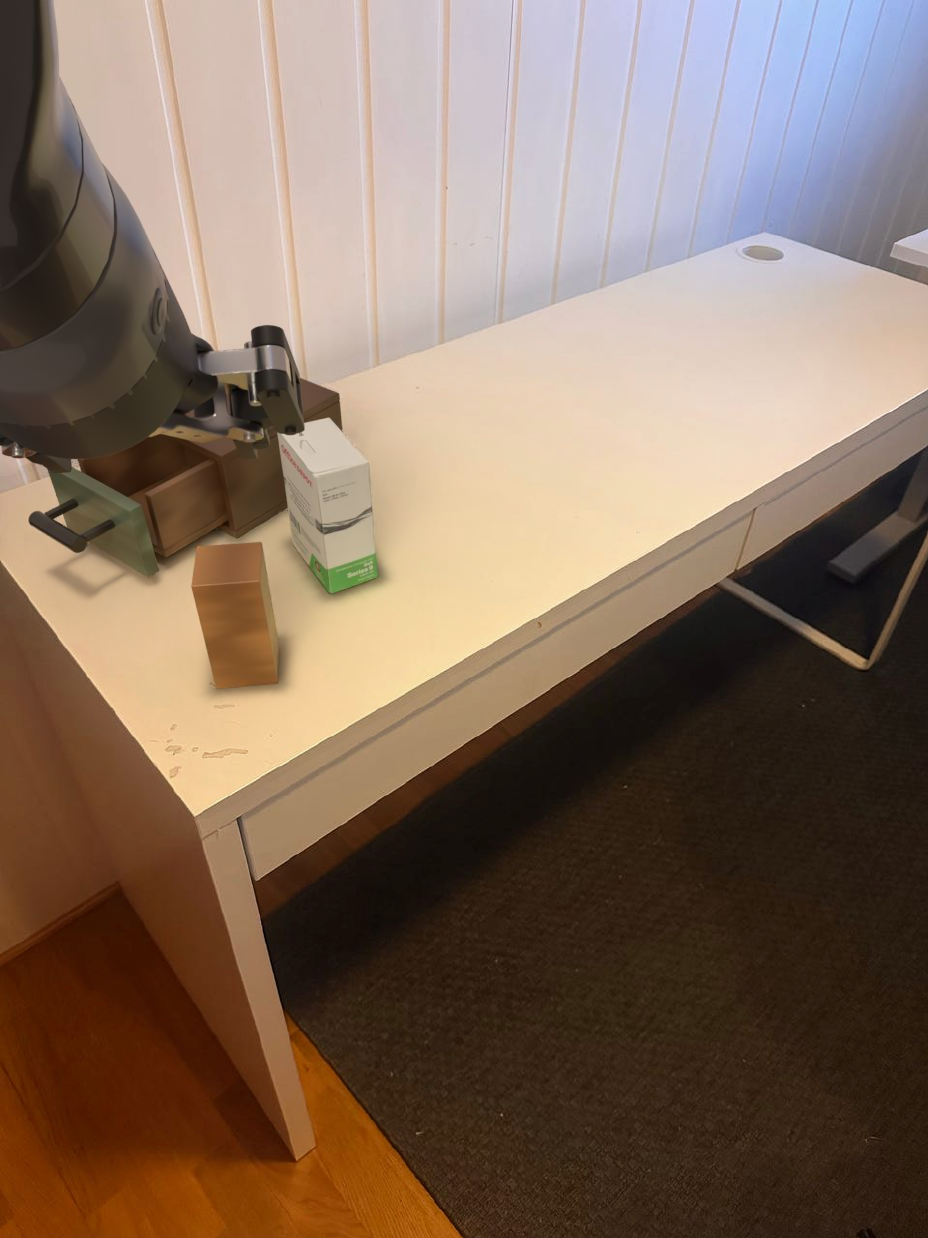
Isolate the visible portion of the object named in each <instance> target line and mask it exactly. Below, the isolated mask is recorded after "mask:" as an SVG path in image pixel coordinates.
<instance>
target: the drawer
mask: <svg viewBox="0 0 928 1238" xmlns="http://www.w3.org/2000/svg"><path fill="white" fill-rule="evenodd" d="M77 462H78V466H79V469H77V468H75V467H73V466H72V469H71V472H67V473H53V472H51V471H50V470H48V469H47V468H46V469H47V473H48V476H49V479H50V481H51V484H52V487H53V490H54V493H55V496H56V499H57V501H58V505H57V506H55V507H53V508H50V509H49V510H47V511H45V512H42V511H40V510H35V511H33V512H31V514H29V516H28V520H27V521H28V524H29V525H30V526H31V527H32V528H34V529H36V530H38V531H39V532H41V533H42V534H44V535H45V536H47V537H49V538H50V539H52V540H54V541H55V542H57V543H58V544H60V545H62V546H63V547H65V548H66V549H68V550H69V551H72V552H73V553H75V554H80V553H82V552H84V551H85V550H86V548H87V547H88V543H90V544H92V545H94V546H95V547H96V548H98V549H100V550H101V551H103V552H105V553H107V554H108V555H110V556H112V557H113V558H115V559H117V560H118V561H120V562H122V563H123V564H126V566H128V567H130V568H132V569H133V570H134V571H137V572H138V573H140V574H142V575H143V576H144V577H146V578H150V577H152V576H154V575H155V574H157V573H159V572H160V568H159V565H158V561H157V557H156V553H158V554H159V555H161V556H163V557H165V558H168V557H170V556H171V555H173V554H174V553H176V552H178V551H179V550H181V549H183V548H184V547H186V546H187V545H189V544H191V543H193V542H194V541H196V540H198V539H199V538H201V537H203V536H204V535H206V534H208V533H209V532H211V531H213V530H214V529H216V528H217V527H218V526H220V525H221V524H223V523H225V522H226V521H228V515H227V510H226V505H225V499H224V494H223V489H222V484H221V479H220V474H219V469H218V464H217V462H218V461H216V460H214V459H212V458H209V457H207V456H205V455H203V454H201V453H199V452H197V451H195V450H193V449H191V448H189V447H187V446H185V445H183V444H181V443H179V442H176V441H174V440H172V439H170V438H168V437H166V436H164V435H162V434H158V435H155V436H152V437H147V438H146V439H144V440H143V441H141V442H140V443H138V444H136V445H134V446H132V447H130V448H128V449H126V450H124V451H121V452H118V453H115V454H112V455H108V456H104V457H99V458H91V459H77ZM61 516H63V519H64V522H65V525H64V524H62V523H60V522H59V521H57V520H56V518H59V517H61ZM155 552H156V553H155Z"/></svg>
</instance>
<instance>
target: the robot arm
mask: <svg viewBox="0 0 928 1238" xmlns="http://www.w3.org/2000/svg"><path fill="white" fill-rule="evenodd" d="M54 1H55V0H0V446H1V454H2V455H3V456H5V457H11V458H12V459H18V460H19V459H24V458H25V459H27V460H28V461H29V462H31V463H32V464H36V465H40V466H43V467H44V468H46V469H48V470H50V471H51V472H53V473H67V472H71V469H72V467H73V465H72V463H73V462H72V460H78V459H91V458H99V457H104V456H108V455H112V454H115V453H118V452H121V451H124V450H126V449H128V448H130V447H132V446H134V445H136V444H138V443H140V442H141V441H143V440H144V439H146V438H147V437H152V436H155V435H158V434H164V435H168V436H173V437H177V438H182V439H186V440H190V441H195V442H199V443H205V442H209V441H212V440H215V439H218V438H222V437H227V438H231V439H233V442H234V444H235V446H236V448H237V450H238V452H239V454H240V456H241V458H242V460H244V459H257V457H258V455H257V449H267V448H268V447H269V446H270V440H269V429H268V428H269V427H272V426H274V428H275V430H276V432H278V433H280V434H285V435H295V434H297V433H301V432H303V431H304V430H305V427H304V416H303V405H302V395H301V385H300V378H301V375H300V372H299V369H298V365H297V364H296V361H295V358H294V355H293V353H292V349H291V347H290V344H289V341H288V339H287V336H286V333H285V331H284V329H283V328H282V327H280V326H277V325H274V324H263V325H258V326H255V327H253V328H252V329H251V330H250V338H251V341H246V342H245V343H244V344H243V348H234V349H220V350H215V349H214V348H213V346H212V345H211V344H210V343H209V342H208V341H207V340H205V339H204V338H202V337H199V336H197V335H195V333H192V331H191V329H190V326H189V323H188V321H187V318H186V316H185V314H184V312H183V309H182V307H181V305H180V303H179V300H178V299H177V296H176V294H175V292H174V289H173V288H172V286H171V283H170V282H169V279H168V277H167V275H166V272H165V271H164V268H163V266H162V264H161V263H160V260H159V258H158V256H157V254H156V252H155V249H154V247H153V245H152V242H151V241H150V239H149V237H148V233H147V232H146V229H145V228H144V226H143V224H142V222H141V220H140V218H139V216H138V214H137V212H136V211H135V208H134V206H133V205H132V203H131V201H130V199H129V198H128V196H127V194H126V193H125V191H124V190H123V189H122V187H121V186H120V184H119V183H118V181H117V179H115V177H114V176H113V175H112V173H111V172H110V170H109V169H108V168H107V166H106V165H105V164H104V163H103V162H102V160H101V159H100V157H99V154H98V152H97V150H96V148H95V146H94V144H93V143H92V139H91V138H90V136H89V134H88V132H87V130H86V127H85V125H84V123H83V122H82V119H81V118H80V116H79V113H78V111H77V109H76V107H75V105H74V103H73V102H72V99H71V97H70V95H69V93H68V90H67V88H66V87H65V84H64V82H63V80H62V78H61V76H60V52H59V51H60V50H59V37H58V36H59V33H58V27H57V20H56V11H55V2H54ZM226 394H229V402H230V414H231V415H230V414H229V412H228V409H227V399H226ZM192 410H193V415H194V417H191V416H187V415H185V414H187V413H189V412H190V411H192ZM48 470H47V471H48Z"/></svg>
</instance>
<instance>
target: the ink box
mask: <svg viewBox="0 0 928 1238" xmlns="http://www.w3.org/2000/svg"><path fill="white" fill-rule="evenodd" d="M304 427H305V430H304V431H303V432H301V433H297V434H295V435H285V434H280V433H278V432H277V434H278V441H279V448H280V455H281V462H282V469H283V476H284V483H285V490H286V498H287V505H288V507H287V511H288V518H289V526H290V527H289V528H290V533H291V534H290V535H291V542H292V545H293V547H294V548H295V550H297V552H298V553H299V555H300V556H301V558H302V559H303V560H304V562H305V563H306V564H307V565H308V567H309V568H310V569H311V571H312V572H313V573H314V575H315V577H316V578H317V579H318V580H319V581H320V583H321V584H322V586H323V587H324V588H325V589H326V592H328V593H329V594H335V593H337V592H339V591H343V590H346V589H349V588H352V587H355V586H357V585H360V584H362V583H366V582H368V581H371V580H373V579H375V578H378V576H379V573H378V562H377V549H376V536H375V535H376V534H375V525H374V511H373V509H374V508H373V498H372V497H373V495H372V484H371V483H372V482H371V471H370V470H371V469H370V461H369V460H368V458H366V457H365V456H364V454H363V453H362V452H361V451H360V450H359V449H358V448H357V447H356V446H355V445H354V443H353V442H352V441H351V440H350V439H349V438H348V436H347V435H346V434H345V433H344V431H343V432H342V431H341V430H340V429H339V428H338V427H337V426H336V424H335V423H334V422H333V421H332V420H331V419H330V418H325V419H320V420H316V421H311V422H307V423H304Z"/></svg>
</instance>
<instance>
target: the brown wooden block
mask: <svg viewBox="0 0 928 1238" xmlns="http://www.w3.org/2000/svg"><path fill="white" fill-rule="evenodd" d="M264 552H265V551H264V545H263V542H262V541H254V542H240V543H238V542H237V543H227V544H223V543H222V544H212V545H211V544H210V545H197V546H196V550H195V557H194V565H193V571H192V578H191V586H190V587H191V591H192V595H193V600H194V604H195V609H196V611H197V616H198V620H199V624H200V627H201V632H202V636H203V640H204V644H205V648H206V652H207V657H208V661H209V666H210V669H211V673H212V677H213V681H214V686H215V688H216V689H217V690H219V689H229V688H238V687H239V688H240V687H251V686H252V687H253V686H262V685H274V684H278V683H279V654H280V653H279V652H280V651H279V649H280V641H279V635H278V630H277V624H276V617H275V611H274V606H273V599H272V594H271V588H270V587H271V586H270V582H269V576H268V570H267V565H266V559H265V553H264Z"/></svg>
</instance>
